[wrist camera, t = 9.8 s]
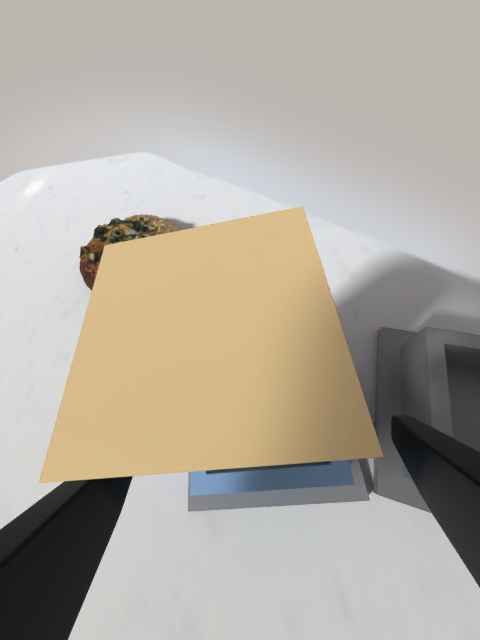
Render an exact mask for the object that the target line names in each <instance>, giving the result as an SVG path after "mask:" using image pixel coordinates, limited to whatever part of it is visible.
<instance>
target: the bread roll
mask: <svg viewBox="0 0 480 640" xmlns="http://www.w3.org/2000/svg"><path fill="white" fill-rule="evenodd" d="M175 231H180V229H179V227H178V226H176V225H175V224H173V223H172V222H170V221H167V220H165V219H161V218H159V217H157V216H152V215H134V216H131V217H128V218H126V219H125V220H123V221H122V220H120V219H119V218H115V219H112V220H111V222H110V223H109V224H107V225H105V224H104V225H103V226H102V225H98V226H97V228H96V229H95V230H94V236H93V238H92V240H91V241H90V242H89V243H88V245H86V246H81V253H80V258H81V260H80V272H81V274H82V276H83V279H84V282H85V283H86V285H87V286H88V287H89V288H90V289H91V290H92V289H93V286H94V282H95V279H96V275H97V271H98V268H99V264H100V261H101V257H102V253H103V250H104V246H105V245H109V244H114V243H119V242H124V241H129V240H135V239H140V238H145V237H150V236H155V235H160V234H165V233H170V232H175Z"/></svg>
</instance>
